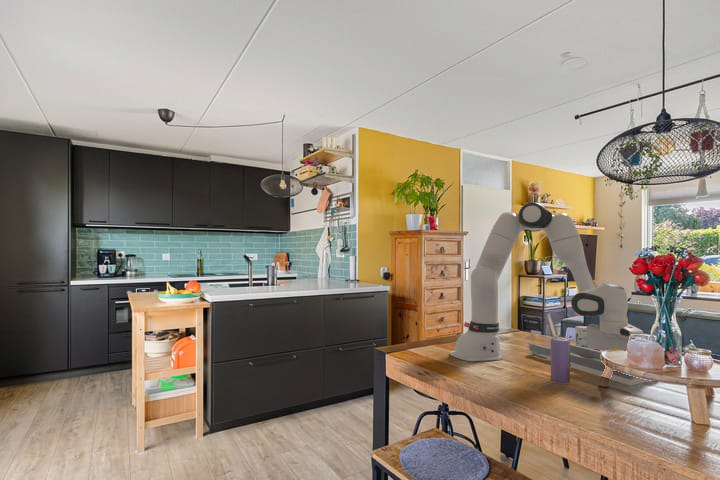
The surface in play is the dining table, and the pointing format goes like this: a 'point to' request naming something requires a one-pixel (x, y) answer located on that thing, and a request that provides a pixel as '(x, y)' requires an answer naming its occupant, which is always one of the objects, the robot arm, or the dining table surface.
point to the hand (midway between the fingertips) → (614, 364)
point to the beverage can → (560, 360)
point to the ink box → (582, 337)
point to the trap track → (585, 362)
